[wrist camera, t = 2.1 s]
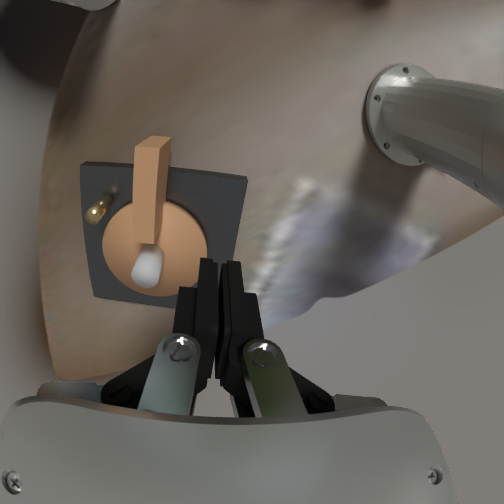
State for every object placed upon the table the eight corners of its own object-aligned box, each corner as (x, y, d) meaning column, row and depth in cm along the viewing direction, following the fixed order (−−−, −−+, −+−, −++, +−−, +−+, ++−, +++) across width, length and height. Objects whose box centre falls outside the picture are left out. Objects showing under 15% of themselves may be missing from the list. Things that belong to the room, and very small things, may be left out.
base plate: (246, 176, 29) (252, 194, 24) (222, 304, 38) (223, 335, 33) (85, 161, 25) (62, 177, 21) (97, 289, 35) (84, 316, 30)
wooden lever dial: (223, 143, 25) (224, 155, 20) (202, 294, 34) (200, 327, 30) (104, 133, 23) (79, 144, 18) (110, 283, 32) (97, 313, 27)
